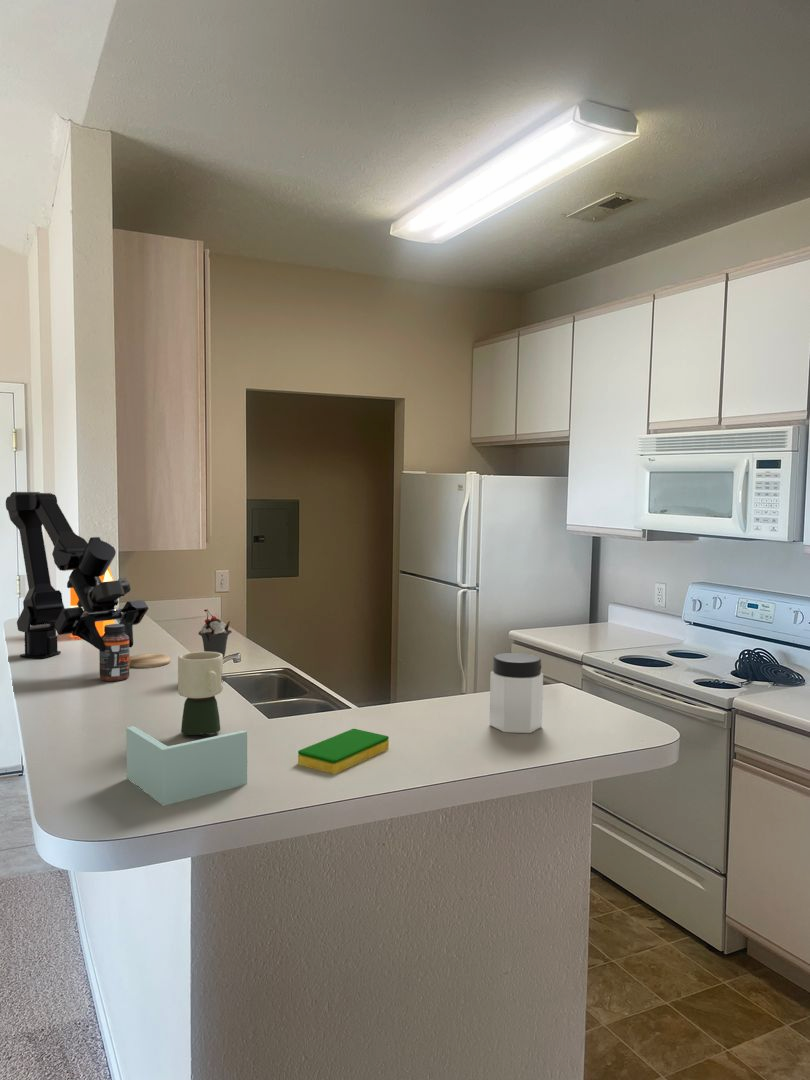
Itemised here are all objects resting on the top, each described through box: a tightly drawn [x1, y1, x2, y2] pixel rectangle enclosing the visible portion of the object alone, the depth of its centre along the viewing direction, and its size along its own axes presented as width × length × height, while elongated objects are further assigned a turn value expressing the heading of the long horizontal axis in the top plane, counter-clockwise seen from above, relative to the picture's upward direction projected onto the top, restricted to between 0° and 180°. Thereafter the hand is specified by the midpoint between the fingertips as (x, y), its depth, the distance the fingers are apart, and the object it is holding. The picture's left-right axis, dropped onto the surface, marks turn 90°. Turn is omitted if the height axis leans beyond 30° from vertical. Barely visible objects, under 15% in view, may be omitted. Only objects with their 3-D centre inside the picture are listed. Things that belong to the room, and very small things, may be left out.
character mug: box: [177, 651, 224, 736], centre depth 130 cm, size 11×7×13 cm, turn 38°
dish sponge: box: [297, 728, 390, 774], centre depth 120 cm, size 7×14×2 cm, turn 147°
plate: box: [129, 653, 171, 669], centre depth 181 cm, size 10×10×1 cm
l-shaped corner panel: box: [125, 725, 248, 806], centre depth 109 cm, size 12×12×8 cm
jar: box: [489, 652, 544, 734], centre depth 136 cm, size 9×8×12 cm
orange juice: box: [69, 566, 115, 638], centre depth 213 cm, size 8×9×20 cm
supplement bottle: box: [98, 623, 130, 682], centre depth 166 cm, size 6×6×11 cm
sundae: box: [197, 608, 233, 682], centre depth 167 cm, size 7×7×15 cm
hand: (118, 648), depth 165 cm, fingers closed on supplement bottle, 6 cm apart
